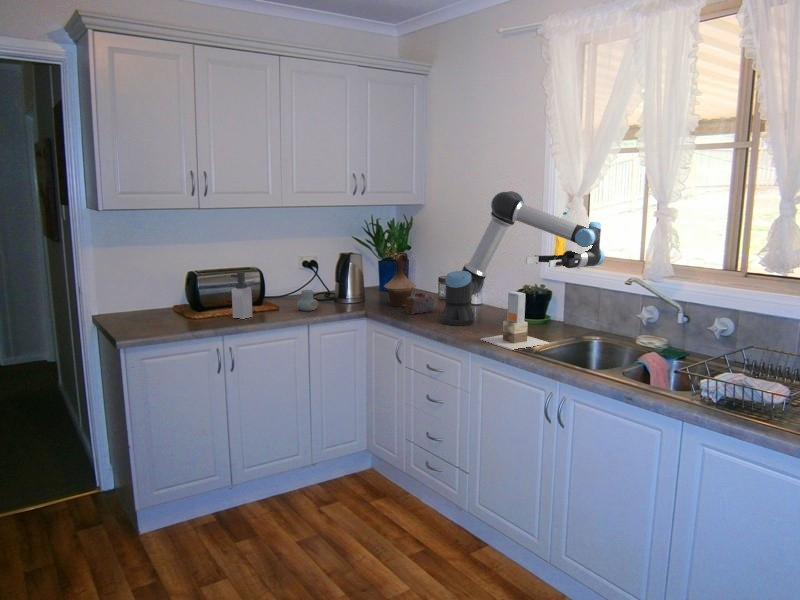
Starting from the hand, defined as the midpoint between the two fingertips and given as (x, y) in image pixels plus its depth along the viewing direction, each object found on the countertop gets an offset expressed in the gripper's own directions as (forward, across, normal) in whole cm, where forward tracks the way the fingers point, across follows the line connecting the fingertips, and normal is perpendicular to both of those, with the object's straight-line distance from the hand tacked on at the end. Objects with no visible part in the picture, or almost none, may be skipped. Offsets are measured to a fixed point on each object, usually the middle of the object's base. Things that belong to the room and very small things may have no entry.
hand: (537, 262), depth 265 cm
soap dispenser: (+95, +101, -32) cm, 142 cm away
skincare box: (+13, -2, -24) cm, 27 cm away
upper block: (+13, -2, -27) cm, 30 cm away
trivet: (+13, -2, -32) cm, 34 cm away
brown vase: (+12, +90, -32) cm, 96 cm away
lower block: (+13, -2, -31) cm, 34 cm away
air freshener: (+60, +102, -32) cm, 123 cm away
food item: (+13, +68, -32) cm, 77 cm away
